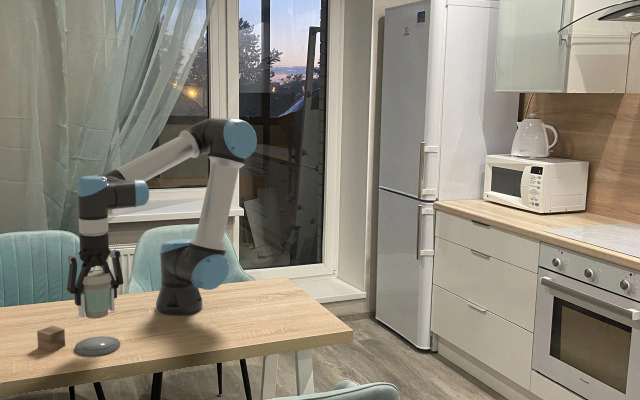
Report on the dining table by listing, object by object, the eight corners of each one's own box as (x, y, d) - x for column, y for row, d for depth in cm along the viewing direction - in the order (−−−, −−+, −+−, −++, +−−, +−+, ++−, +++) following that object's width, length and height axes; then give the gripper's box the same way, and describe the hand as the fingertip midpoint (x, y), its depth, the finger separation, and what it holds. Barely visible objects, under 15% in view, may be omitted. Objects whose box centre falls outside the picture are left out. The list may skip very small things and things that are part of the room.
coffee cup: (101, 307, 183) (100, 267, 181) (119, 314, 177) (117, 273, 175) (74, 315, 176) (72, 273, 174) (91, 322, 171) (89, 279, 169)
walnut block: (53, 342, 181) (52, 325, 180) (65, 346, 179) (64, 329, 178) (38, 348, 177) (37, 331, 176) (50, 352, 174) (49, 334, 174)
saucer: (110, 335, 187) (109, 332, 186) (127, 348, 178) (127, 345, 177) (68, 345, 179) (68, 341, 179) (84, 359, 170) (84, 355, 170)
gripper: (124, 226, 182) (126, 302, 186) (50, 235, 169) (54, 316, 173) (135, 230, 177) (137, 309, 180) (60, 240, 163) (64, 324, 167)
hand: (96, 312), depth 177 cm, fingers closed on coffee cup, 8 cm apart
